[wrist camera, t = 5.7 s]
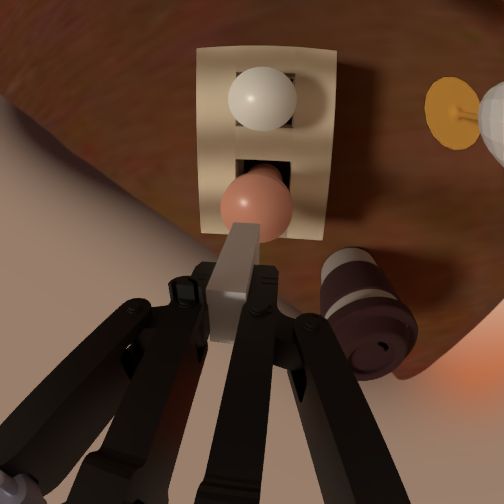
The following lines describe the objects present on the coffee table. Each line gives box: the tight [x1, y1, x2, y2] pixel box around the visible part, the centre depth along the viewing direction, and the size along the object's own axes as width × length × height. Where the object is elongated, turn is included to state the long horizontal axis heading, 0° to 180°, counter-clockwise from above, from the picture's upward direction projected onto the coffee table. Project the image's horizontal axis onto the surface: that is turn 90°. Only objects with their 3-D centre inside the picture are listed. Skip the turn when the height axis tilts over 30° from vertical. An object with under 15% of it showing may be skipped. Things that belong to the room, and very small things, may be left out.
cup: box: [424, 77, 504, 167], centre depth 18 cm, size 9×9×16 cm
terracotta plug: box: [220, 163, 293, 243], centre depth 25 cm, size 5×5×8 cm
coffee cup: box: [320, 248, 418, 381], centre depth 30 cm, size 10×10×15 cm
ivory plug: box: [228, 67, 297, 131], centre depth 24 cm, size 5×5×8 cm
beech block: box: [196, 46, 337, 240], centre depth 27 cm, size 18×12×6 cm, turn 179°
